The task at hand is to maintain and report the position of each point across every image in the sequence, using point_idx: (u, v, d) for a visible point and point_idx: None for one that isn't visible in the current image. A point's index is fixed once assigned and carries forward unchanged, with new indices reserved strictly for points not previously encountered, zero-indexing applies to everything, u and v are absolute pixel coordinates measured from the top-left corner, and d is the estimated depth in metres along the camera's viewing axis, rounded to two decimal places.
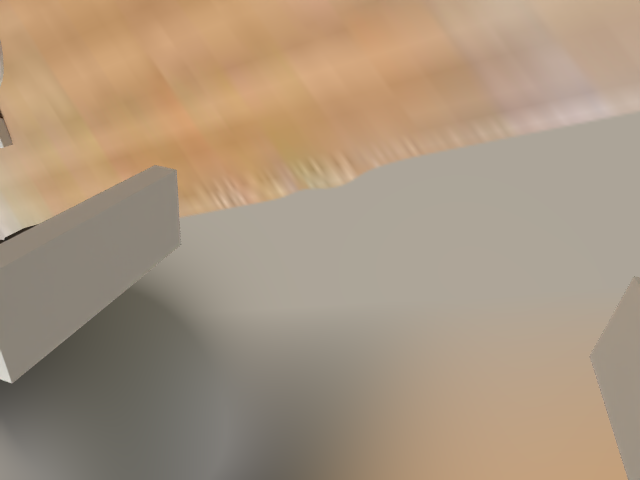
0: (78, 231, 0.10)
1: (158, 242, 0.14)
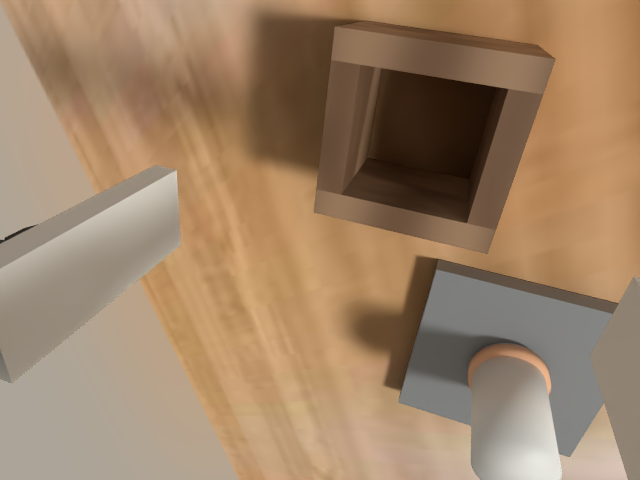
0: (78, 231, 0.10)
1: (158, 242, 0.14)
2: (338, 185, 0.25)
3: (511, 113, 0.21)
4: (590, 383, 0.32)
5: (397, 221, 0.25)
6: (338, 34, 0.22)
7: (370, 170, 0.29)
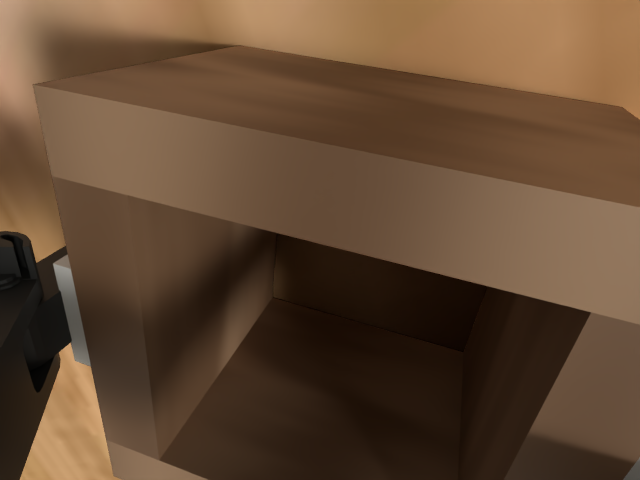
0: None
1: None
2: (148, 443, 0.11)
3: (595, 380, 0.06)
4: None
5: None
6: (49, 108, 0.07)
7: (265, 343, 0.15)
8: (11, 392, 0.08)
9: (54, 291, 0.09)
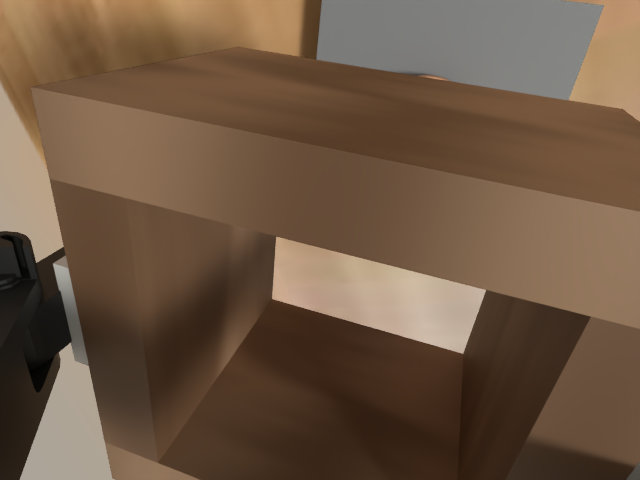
0: None
1: None
2: (147, 446, 0.11)
3: (595, 385, 0.06)
4: None
5: None
6: (46, 110, 0.07)
7: (265, 345, 0.15)
8: (11, 392, 0.08)
9: (54, 291, 0.09)
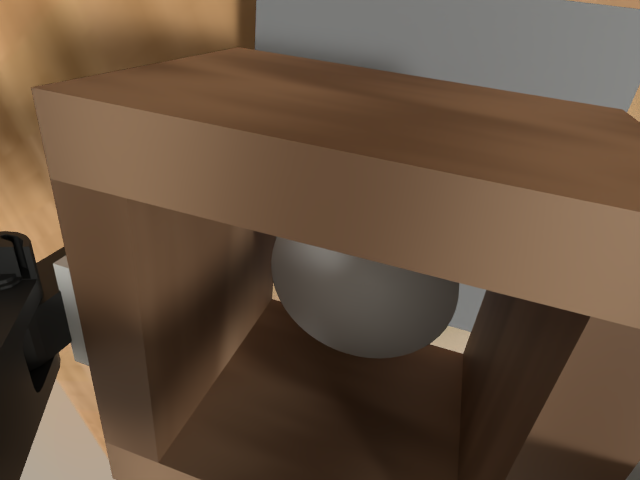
0: None
1: None
2: (147, 445, 0.11)
3: (594, 384, 0.06)
4: None
5: None
6: (47, 111, 0.07)
7: (265, 345, 0.15)
8: (11, 392, 0.08)
9: (54, 291, 0.09)
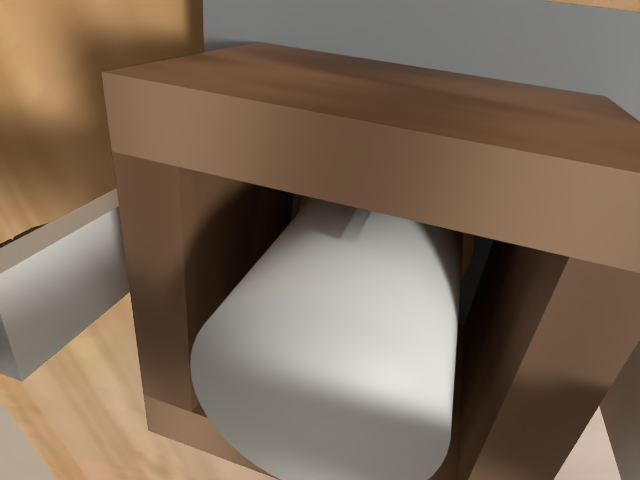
0: (87, 230, 0.11)
1: None
2: (183, 396, 0.12)
3: (573, 316, 0.08)
4: None
5: None
6: (114, 91, 0.08)
7: None
8: None
9: None
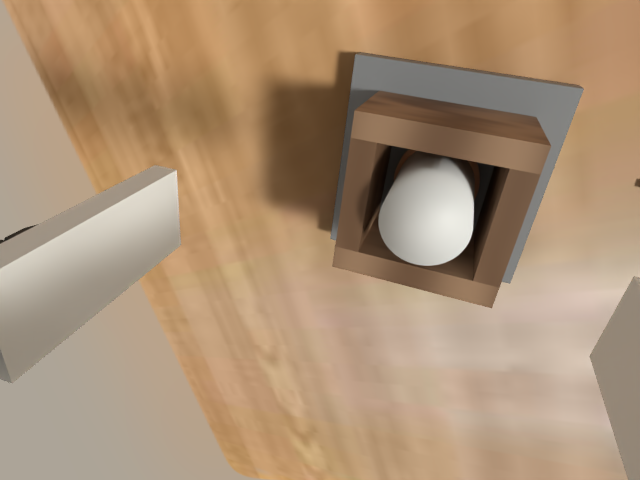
0: (78, 231, 0.10)
1: (158, 242, 0.14)
2: (355, 244, 0.28)
3: (512, 189, 0.23)
4: None
5: (409, 276, 0.28)
6: (357, 117, 0.24)
7: None
8: None
9: None
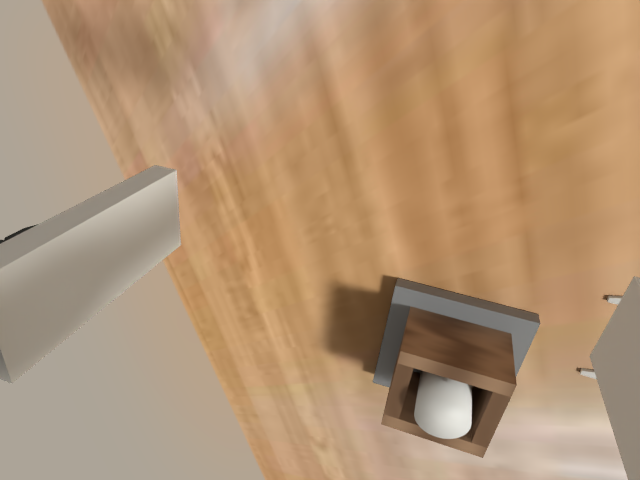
0: (78, 231, 0.10)
1: (158, 242, 0.14)
2: (397, 414, 0.44)
3: (494, 401, 0.40)
4: None
5: (431, 435, 0.44)
6: (402, 354, 0.40)
7: (412, 386, 0.48)
8: None
9: None
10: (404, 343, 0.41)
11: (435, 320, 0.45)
